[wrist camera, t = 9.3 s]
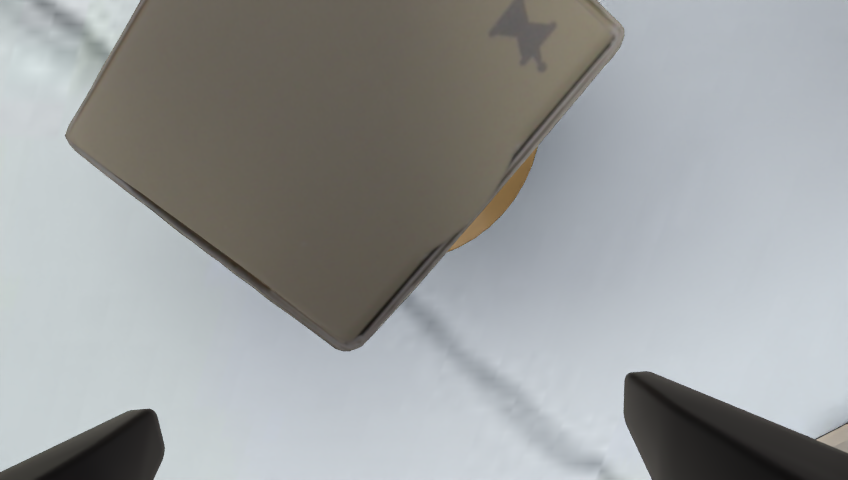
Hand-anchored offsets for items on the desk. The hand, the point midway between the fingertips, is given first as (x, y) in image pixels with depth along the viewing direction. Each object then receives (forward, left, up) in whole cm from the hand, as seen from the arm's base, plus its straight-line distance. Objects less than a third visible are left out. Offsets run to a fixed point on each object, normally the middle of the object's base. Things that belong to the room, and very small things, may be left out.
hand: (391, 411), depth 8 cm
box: (0, -6, -9) cm, 10 cm away
